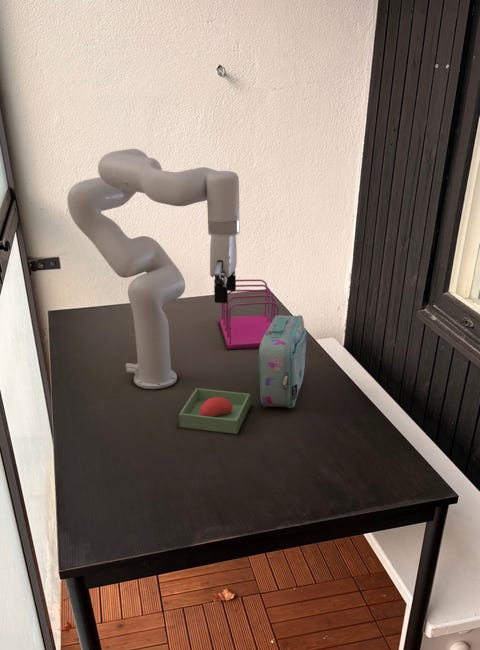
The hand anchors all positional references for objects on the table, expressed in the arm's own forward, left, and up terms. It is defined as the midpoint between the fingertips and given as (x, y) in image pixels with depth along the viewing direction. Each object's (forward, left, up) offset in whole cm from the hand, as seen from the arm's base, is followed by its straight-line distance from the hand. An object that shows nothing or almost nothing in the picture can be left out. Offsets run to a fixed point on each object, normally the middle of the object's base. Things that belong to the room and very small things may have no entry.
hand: (225, 296), depth 163 cm
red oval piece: (-1, -8, -30) cm, 31 cm away
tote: (-1, -8, -30) cm, 31 cm away
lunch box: (+14, +9, -31) cm, 35 cm away
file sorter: (-5, +50, -31) cm, 59 cm away
